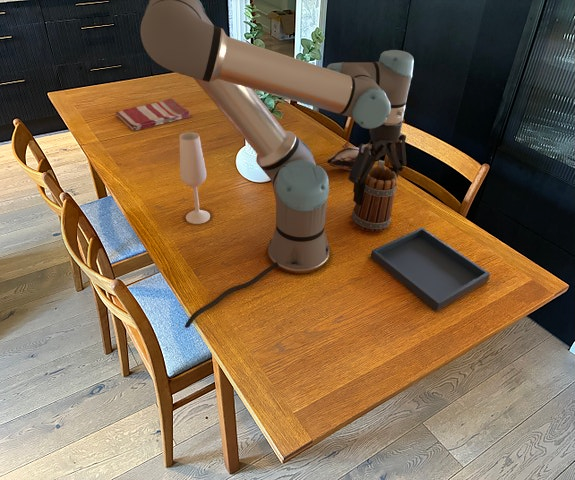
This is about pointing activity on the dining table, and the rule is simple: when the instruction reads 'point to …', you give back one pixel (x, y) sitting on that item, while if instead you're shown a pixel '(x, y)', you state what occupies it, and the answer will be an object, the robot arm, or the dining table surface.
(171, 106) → the dish towel
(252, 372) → the dining table surface
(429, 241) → the tray
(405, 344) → the dining table surface
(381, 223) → the mug
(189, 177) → the champagne flute
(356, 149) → the decorative duck model
